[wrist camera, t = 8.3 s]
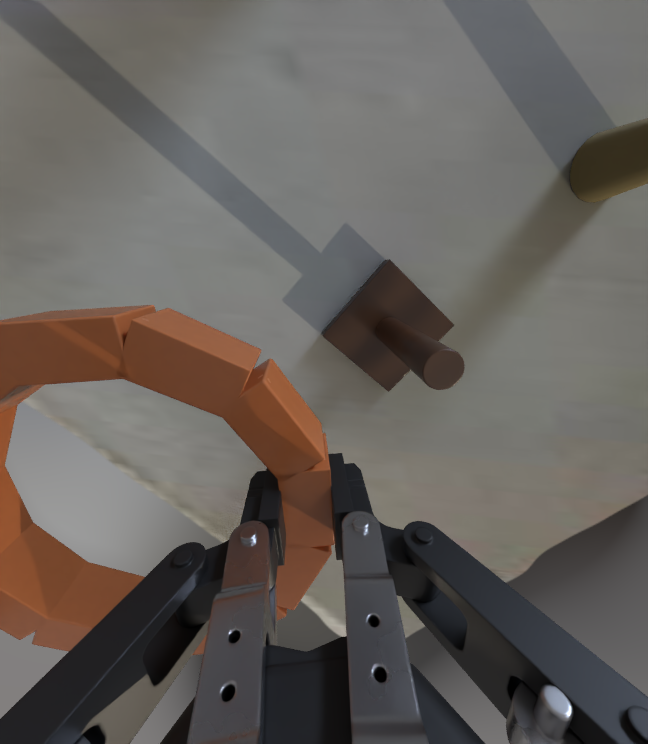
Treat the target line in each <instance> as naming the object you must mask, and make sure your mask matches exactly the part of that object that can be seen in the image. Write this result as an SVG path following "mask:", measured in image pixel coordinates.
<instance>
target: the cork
mask: <svg viewBox="0 0 648 744" xmlns="http://www.w3.org/2000/svg"><path fill="white" fill-rule="evenodd" d="M570 183H571V186H572V189H573V192H574V193H575V194H576V195H577V197H578V198H579V199H581V200H583V201H585V202H598V201H601V200H604V199H607V198H610V197H612V196H615V195H618V194H620V193H623V192H626V191H628V190H631V189H634V188H637V187H639V186H642V185H645V184H647V183H648V118H646V119H643V120H639V121H636V122H633V123H629V124H626V125H623V126H619V127H616V128H613V129H609V130H606V131H603V132H599V133H596V134H595V135H593V136H592V137H590V138H589V139H587V141H586V142H585V143H584V144H583V145H582V146H581V147H580V148H579V150H578V152H577V154H576V156H575V158H574V159H573V163H572V167H571V170H570Z"/></svg>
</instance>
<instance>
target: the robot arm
mask: <svg viewBox="0 0 648 744" xmlns="http://www.w3.org/2000/svg"><path fill="white" fill-rule="evenodd" d="M328 455H329V463H330V470H331V499H332V517H333V533H334V541H335V550H336V558H337V560H342V561H343V568H344V589H345V611H346V633H347V636H346V637H340V638H338V639H336V640H334V641H331V642H329V643H327V644H325V645H322V646H320V647H318V648H316V649H314V650H311V651H308V652H304V651H299V650H294V649H290V648H285V647H280V646H277V586H276V578H277V567H278V566H282V565H284V564H285V547H286V529H285V521H284V514H283V506H282V498H281V491H279V487H278V480H277V478H276V477H275V476H274V475H273V474H272V472H271V471H270V470H269V469H268V468H267V470H266V471H258V472H257V473H256V474H255V475H254V476H253V478H252V479H251V481H250V485H249V490H248V494H247V498H246V502H245V506H244V510H243V514H242V519H241V523H240V525H239V526H238V527H237V528H236V529H235V530H234V531H233V532H232V534H231V536H230V539H229V540H228V541H226V542H224V543H222V544H220V545H218V546H215V547H212V548H210V549H207V550H205V548H204V546H203V545H201V544H200V543H196V542H190V543H186V544H183V545H181V546H179V547H177V548H176V549H174V550H173V551H172V552H170V553H169V555H167V556H166V557H165V558H164V559H163V560H162V561H161V562H160V563H159V564H158V565H157V566H156V567H155V568H154V569H153V570H152V571H151V572H150V573H149V574H148V575H147V576H146V577H145V578H144V579H143V580H142V581H141V582H140V583H139V584H138V585H137V586H136V587H135V588H134V589H133V590H132V591H131V592H129V593H128V594H127V595H126V596H125V597H124V598H123V599H122V600H121V601H120V602H119V603H118V604H117V605H116V606H115V607H114V608H113V609H112V610H111V611H110V612H109V613H108V614H107V615H106V616H105V617H104V618H103V619H102V620H101V621H100V622H99V623H98V624H97V625H96V626H95V627H94V628H93V629H92V630H91V631H90V632H89V633H88V634H87V635H86V636H85V637H84V638H83V639H82V640H80V641H79V642H78V643H77V644H76V645H75V646H74V647H73V648H72V649H71V650H70V651H69V652H68V653H67V654H66V655H65V656H64V657H63V658H62V659H61V660H60V661H59V662H58V663H57V664H56V665H55V666H54V667H53V668H52V669H51V670H50V671H49V672H48V673H47V674H46V675H45V676H44V677H43V678H42V679H41V680H40V681H39V682H38V683H37V684H36V685H35V686H34V687H33V688H32V689H31V690H29V691H28V692H27V693H26V694H25V695H24V696H23V697H22V698H21V699H20V700H19V701H18V702H17V703H16V704H15V705H14V706H13V707H12V708H11V709H10V710H9V711H8V712H7V713H6V714H5V715H4V716H3V717H2V718H1V719H0V744H130V743H131V741H132V740H133V738H134V737H135V735H136V734H137V733H138V731H139V730H140V728H141V727H142V726H143V724H144V723H145V721H146V720H147V718H148V717H149V715H150V714H151V713H152V711H153V710H154V708H155V707H156V706H157V704H158V703H159V701H160V700H161V699H162V697H163V696H164V694H165V693H166V691H167V690H168V689H169V687H170V686H171V684H172V683H173V682H174V680H175V679H176V677H177V676H178V674H179V673H180V672H181V670H182V669H183V667H184V666H185V664H186V663H187V662H188V660H189V659H190V657H191V656H192V655H193V653H194V652H195V650H196V649H197V647H198V646H199V645H200V643H201V642H202V640H203V639H204V637H205V636H206V635H207V636H206V642H205V647H204V653H203V658H202V663H201V669H200V674H199V680H198V685H197V691H196V696H195V697H194V699H193V700H192V701H191V703H190V704H189V706H188V707H187V708H186V709H185V711H184V712H183V714H182V715H181V716H180V717H179V719H178V720H177V722H176V723H175V724H174V726H173V727H172V728H171V730H170V731H169V732H168V734H167V735H166V736H165V738H164V739H163V740H162V742H161V743H160V744H485V743H484V742H483V741H482V740H481V739H480V738H479V736H478V735H477V734H476V733H475V732H474V731H473V730H472V729H471V727H470V726H469V725H468V724H467V723H466V722H465V721H464V720H463V719H462V718H461V717H460V715H459V714H458V713H457V712H456V711H455V710H454V709H453V708H452V707H451V706H450V704H449V703H448V702H447V701H446V700H445V699H444V698H443V697H442V696H441V694H440V693H439V692H438V691H437V690H436V689H435V688H434V687H433V686H432V685H431V683H430V682H429V681H428V680H427V679H426V678H425V677H424V676H423V675H422V673H420V671H419V670H418V669H417V668H416V667H415V666H414V665H413V664H411V663H410V660H409V655H408V650H407V645H406V640H405V635H404V630H403V625H402V620H401V615H400V610H399V605H398V600H397V595H398V596H402V598H403V600H404V601H405V603H406V604H407V605H408V606H409V607H410V609H411V610H412V611H413V612H414V613H415V614H416V615H417V617H418V618H419V619H420V620H421V621H422V622H423V624H424V625H425V626H426V627H427V628H428V629H429V630H430V632H431V633H432V634H433V635H434V636H435V637H436V638H437V640H438V641H439V642H440V643H441V644H442V645H443V647H444V648H445V649H446V650H447V651H448V652H449V653H450V655H451V656H452V657H453V658H454V659H455V660H456V662H457V663H458V664H459V665H460V666H461V667H462V669H463V670H464V671H465V672H466V673H467V674H468V676H470V678H471V679H472V680H473V681H474V682H475V684H476V685H477V686H478V687H479V688H480V689H481V690H482V692H483V693H484V694H485V695H486V696H487V697H488V699H489V700H490V701H491V702H492V703H493V704H494V705H495V707H496V708H497V709H498V710H499V711H500V712H501V713H502V715H503V716H504V717H505V718H506V719H507V721H506V730H507V736H508V740H509V743H510V744H648V697H647V696H646V695H645V694H643V693H642V692H641V691H640V690H638V689H637V688H636V687H635V686H633V685H632V684H631V683H630V682H628V681H627V680H626V679H625V678H623V677H622V676H621V675H620V674H618V673H617V672H616V671H615V670H613V669H612V668H611V667H610V666H608V665H607V664H606V663H605V662H603V661H602V660H601V659H600V658H598V657H597V656H596V655H595V654H593V653H592V652H591V651H590V650H589V649H587V648H586V647H585V646H583V645H582V644H581V643H580V642H579V641H577V640H576V639H575V638H574V637H572V636H571V635H570V634H569V633H567V632H566V631H565V630H563V629H562V628H561V627H560V626H559V625H557V624H556V623H555V622H554V621H552V620H551V619H550V618H549V617H547V616H546V615H545V614H544V613H542V612H541V611H540V610H539V609H537V608H536V607H535V606H534V605H532V604H531V603H530V602H529V601H527V600H526V599H525V598H524V597H522V596H521V595H520V594H519V593H517V592H516V591H515V590H514V589H512V588H511V587H510V586H509V585H507V584H506V583H505V582H504V581H502V580H501V579H500V578H499V577H498V576H496V575H495V574H494V573H493V572H491V571H490V570H489V569H488V568H486V567H485V566H484V565H483V564H481V563H480V562H479V561H478V560H476V559H475V558H474V557H473V556H471V555H470V554H469V553H468V552H466V551H465V550H464V549H463V548H461V547H460V546H459V545H458V544H456V543H455V542H454V541H453V540H451V539H450V538H449V537H448V536H446V535H445V534H444V533H443V532H441V531H440V530H439V529H438V528H436V527H435V526H433V525H432V524H429V523H427V522H422V521H415V522H411V523H409V524H408V525H407V526H406V527H405V528H404V530H401V529H396V528H391V527H388V526H385V525H383V524H382V523H380V522H379V521H378V520H377V518H376V517H375V516H374V514H373V512H372V508H371V505H370V501H369V498H368V494H367V491H366V487H365V484H364V480H363V477H362V473H361V470H360V469H359V468H358V467H357V466H356V465H355V464H354V463H350V464H344V461H343V456H342V453H337V454H328Z"/></svg>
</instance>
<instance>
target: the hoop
mask: <svg viewBox="0 0 648 744" xmlns="http://www.w3.org/2000/svg"><path fill="white" fill-rule="evenodd" d="M260 353H261V349H259V348H256V347H254V346H252V345H250V344H248V343H245V342H243V341H241V340H239V339H237V338H234V337H232V336H230V335H228V334H225V333H223V332H221V331H219V330H217V329H214V328H212V327H210V326H208V325H206V324H203V323H201V322H199V321H197V320H195V319H192V318H190V317H188V316H186V315H183V314H181V313H179V312H177V311H175V310H172V309H170V308H166V309H163V310H160V311H157V312H156V310H155V307H154V305H143V306H127V307H111V308H94V309H78V310H62V311H49V312H43V313H38V314H32V315H27V316H21V317H16V318H10V319H5V320H0V629H1V630H3V631H5V632H6V633H8V634H10V635H12V636H14V637H15V638H17V639H19V640H21V639H23V638H24V637H26V636H28V635H29V634H31V633H33V632H34V631H36V632H35V635H34V638H33V642H32V644H34V645H38V646H43V647H49V648H54V649H59V650H64V651H70V650H71V649H72V648H73V647H74V646H75V645H76V644H77V643H78V642H79V641H80V640H82V639H83V638H84V637H85V636H86V635H87V634H88V633H89V632H90V631H91V630H92V629H93V628H94V627H95V626H96V625H97V624H98V623H99V622H100V621H101V620H102V619H103V618H104V617H105V616H106V615H107V614H108V613H109V612H110V611H111V610H112V609H113V608H114V607H115V606H116V605H117V604H118V603H119V602H120V601H121V600H122V599H123V598H124V597H125V596H126V595H127V594H128V593H129V592H131V591H132V590H133V589H134V588H135V587H136V586H137V585H138V584H139V583H140V582H141V581H142V580H143V579H144V578H145V577H143V576H139V575H135V574H132V573H128V572H124V571H120V570H116V569H112V568H108V567H105V566H100V565H97V564H93V563H89V562H87V561H85V560H84V559H83V558H81V557H80V556H79V555H77V554H76V553H75V552H73V551H72V550H70V549H69V548H68V547H66V546H65V545H64V544H62V543H61V542H59V541H58V540H57V539H55V538H54V537H52V536H51V535H50V534H48V533H47V532H46V531H44V530H43V529H42V528H40V527H39V526H37V525H36V524H35V523H33V521H32V519H31V517H30V515H29V513H28V511H27V509H26V507H25V505H24V503H23V501H22V499H21V497H20V495H19V493H18V491H17V489H16V487H15V485H14V483H13V481H12V479H11V477H10V475H9V473H8V471H7V469H6V467H5V461H6V456H7V451H8V447H9V442H10V438H11V433H12V428H13V424H14V419H15V415H16V410H17V405H18V404H19V403H21V402H22V401H23V400H25V399H26V398H27V397H29V396H30V395H31V394H33V393H34V392H35V391H37V390H38V389H40V388H41V387H42V386H44V385H45V384H58V383H72V382H86V381H100V380H114V379H125V380H127V381H130V382H133V383H135V384H138V385H140V386H143V387H145V388H148V389H151V390H153V391H156V392H158V393H161V394H163V395H166V396H169V397H171V398H174V399H176V400H179V401H181V402H184V403H186V404H189V405H192V406H194V407H197V408H199V409H202V410H204V411H207V412H210V413H212V414H215V415H217V416H220V417H222V418H223V419H224V420H225V421H226V422H227V423H228V424H229V425H230V427H231V428H232V429H233V430H234V431H235V432H236V433H237V434H238V436H239V437H240V438H241V439H242V440H243V441H244V442H245V443H246V444H247V446H248V447H249V448H250V449H251V450H252V451H253V452H254V453H255V455H256V456H257V457H258V458H259V459H260V460H261V461H262V462H263V464H264V465H265V466H266V467H267V468H268V469H269V470H270V471H271V472H272V474H273V475H274V476H275V477H276V478H277V480H278V487H279V491H281V498H282V506H283V514H284V521H285V529H286V547H285V564H284V565H282V566H278V567H277V578H276V586H277V621H278V620H280V619H282V618H284V617H285V616H286V614H287V609H291V610H294V609H295V608H296V606H297V605H298V603H299V602H300V600H301V599H302V597H303V596H304V594H305V593H306V591H307V590H308V588H309V587H310V585H311V584H312V582H313V581H314V579H315V578H316V576H317V575H318V573H319V572H320V570H321V569H322V567H323V566H324V564H325V563H326V561H327V560H328V558H329V557H330V555H331V554H332V551H331V545H334V544H335V542H334V533H333V517H332V499H331V470H330V463H329V455H328V448H327V441H326V434H325V433H322V425H321V423H320V421H319V420H318V419H317V417H316V416H315V415H314V413H313V412H312V411H311V410H310V408H309V407H308V406H307V404H306V403H305V402H304V400H303V399H302V398H301V396H300V395H299V394H298V392H297V391H296V390H295V388H294V387H293V386H292V384H291V383H290V382H289V381H288V379H287V378H286V377H285V375H284V374H283V373H282V371H281V370H280V369H279V367H278V366H277V365H276V363H275V362H274V361H273V359H268V360H267V361H265V362H264V363H262V364H261V365H259V366H258V367H256V368H255V369H254V366H255V364H256V362H257V360H258V358H259V355H260ZM206 636H207V635H206ZM206 636H205V637H204V639H203V640H202V642H201V643H200V645H199V646H198V647H197V649H196V650H195V652H194V653H193V655H198V654H203V653H204V647H205V642H206Z"/></svg>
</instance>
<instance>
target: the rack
mask: <svg viewBox="0 0 648 744" xmlns="http://www.w3.org/2000/svg"><path fill="white" fill-rule="evenodd" d="M453 326H454V324H453V323H452V322H451V321H450V320H449V319H448V318H447V317H446V316H445V315H444V314H443V313H442V312H441V311H440V310H439V309H438V308H437V307H436V306H435V305H434V304H433V303H432V302H431V301H430V300H429V299H428V298H427V297H426V296H425V295H424V294H423V293H422V292H421V291H420V290H419V289H418V288H417V287H416V286H415V285H414V284H413V283H412V282H411V281H410V280H409V279H408V278H407V277H406V276H405V274H404V273H403V272H402V271H401V270H400V269H399V268H398V267H397V266H396V265H395V264H394V263H393V262H392V261H391V260H390V259H389V260H385V261H384V262H383V263H382V265H381V266H380V267H379V268H378V269H377V270H376V271H375V273H374V274H373V275H372V276H371V277H370V278H369V279H368V281H367V282H366V283H365V284H364V285H363V286H362V287H361V289H360V290H359V291H358V292H357V293H356V294H355V295H354V297H353V298H352V299H351V300H350V301H349V302H348V303H347V305H346V306H345V307H344V308H343V309H342V310H341V311H340V313H339V314H338V315H337V316H336V317H335V318H334V319H333V321H332V322H331V323H330V324H329V325H328V326H327V328H326V329H325V330H324V331H323V332H322V335H323V337H325V338H326V339H327V340H328V341H329V342H331V343H332V344H333V345H334V346H335V347H336V348H338V349H339V350H340V351H341V352H342V353H343V354H345V355H346V356H347V357H348V358H349V359H351V360H352V361H353V362H354V363H355V364H356V365H358V366H359V367H360V368H361V369H362V370H363V371H365V372H366V373H367V374H368V375H369V376H371V377H372V378H373V379H374V380H375V381H376V382H378V383H379V384H380V385H381V386H382V387H384V388H385V389H386V390H387V391H388V392H389V391H390V390H391V389H392V388H393V387H394V386H395V385H396V384H397V383H398V382H399V381H400V380H401V379H402V378H403V377H404V376H405V375H406V374H407V373H408V372H409V371H410V370H412V371H413V372H414V373H415V374H416V375H417V376H418V377H419V378H420V379H421V380H423V381H424V382H425V383H426V384H427V385H428V386H429V387H431V388H433V389H437V390H443V389H448V388H450V387H452V386H454V385H455V384H456V383H457V382H458V381H459V380H460V379H461V377H462V375H463V373H464V361H463V358H462V357H461V355H460V354H459V353H458V352H456V351H454V350H452V349H451V348H449V347H447V346H445V345H443V344H442V343H440V342H438V341H439V340H440V339H441V338H442V337H443V336H444V335H445V334H446V333H447V332H448V331H449V330H450V329H451V328H452V327H453Z"/></svg>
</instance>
